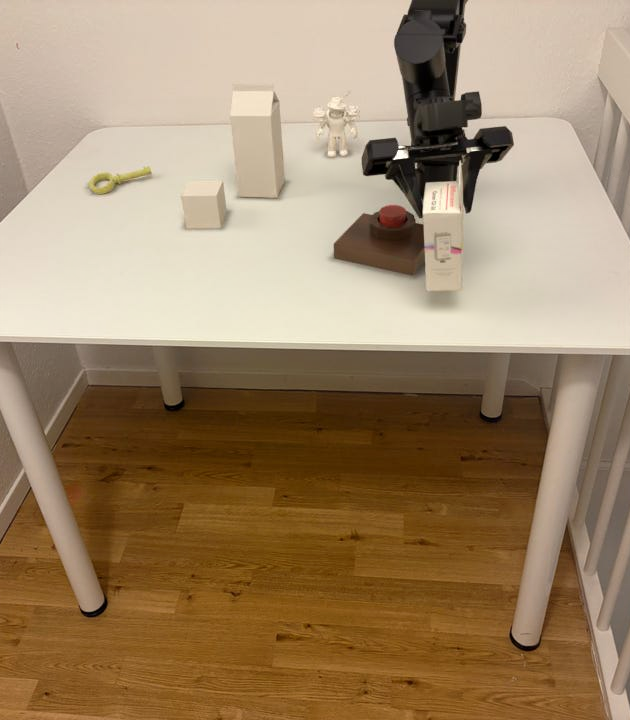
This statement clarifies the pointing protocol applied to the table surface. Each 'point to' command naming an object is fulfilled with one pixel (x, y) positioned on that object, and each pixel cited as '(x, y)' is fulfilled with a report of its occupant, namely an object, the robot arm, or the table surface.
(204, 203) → the cream cube
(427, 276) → the ink cartridge box
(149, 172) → the key
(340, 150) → the blocky character figurine
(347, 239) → the switch box
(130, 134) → the table surface
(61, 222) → the table surface
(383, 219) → the switch button
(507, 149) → the robot arm
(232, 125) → the milk carton
